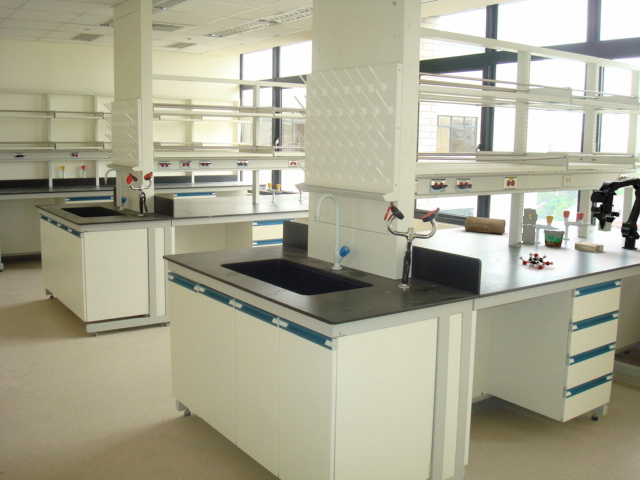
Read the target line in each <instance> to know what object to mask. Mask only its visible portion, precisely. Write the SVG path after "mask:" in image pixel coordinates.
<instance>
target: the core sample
mask: <svg viewBox="0 0 640 480" xmlns="http://www.w3.org/2000/svg"><path fill="white" fill-rule="evenodd" d="M505 229H506V219H502V218H492V217H491V218H490V217H479V216H470V215H469V216H467V218H466V220H465V221H464V230H465V231H466V232H475V233H483V234H484V233H485V234H495V235H496V234H497V235H504V234H505V232H506V230H505Z"/></svg>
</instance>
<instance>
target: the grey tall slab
mask: <svg viewBox="0 0 640 480" xmlns="http://www.w3.org/2000/svg"><path fill="white" fill-rule="evenodd" d="M523 209H524V216H523V224H526V225H523V226H522V227H523V233H522V241H523V243H522V244H524V243H525V244H527V245H535V244H536V233H537V232H536V226H537V221H538V217H539V214H538V213H537V210H536V209H534V208H531V207H525V208H523ZM529 214H531V216H530V217H531V219H530V218H529V216H528V215H529ZM527 224H532V225H529V226H527ZM533 225H536V226H534V227H533Z"/></svg>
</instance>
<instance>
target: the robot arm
mask: <svg viewBox="0 0 640 480" xmlns="http://www.w3.org/2000/svg"><path fill="white" fill-rule="evenodd" d="M625 187H626V188H627V187H632V188H633V189H634V190H635V191H634V197H635V199H634V202H633V204H632V207H631V210H630V212H629V213H630V214H629V217H628V218H627V221H625V222H622V224H621V227H620V232H621V237H622V238H624V244H623V245H624V246H621V248H622V249H627V250H637V249H638V247H636V241H638V240H640V234H639V232H638V225H637V223H638V221H639V217H640V178H639V177H631V178H630V177H629V178H627V179H621V180H617V181H613V180H612V181H611V180H609V181H608V180H607V181H604V182H603V183H602V184H601V186H600V187H599V189H598V190H593V193H591V195H590V197H589V198H590V202H591V203H592V204H593V203H594V204H596V203H597V204H599V206H596V205H592V206H591V207H590V212H591V213H592V217H593V218H595V219H596V220H598V224H599V223H600V227H601V229H603V228H604V226H605V223H606V222H610V223H612V224H613V222H614V221H615V220H616V219H617V218H620V212H619V211H613V208H614V207H615V205H614V197H615V196H618V194H617V193H616V191H618V190H619V189H621V188H625Z"/></svg>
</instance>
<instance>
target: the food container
mask: <svg viewBox="0 0 640 480" xmlns="http://www.w3.org/2000/svg"><path fill="white" fill-rule="evenodd" d="M543 233H544V247H548V248H561V247H562V244H563V239H564V235H565V234H566V232H565V230H550V229H549V230H548V229H544V230H543Z"/></svg>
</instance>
